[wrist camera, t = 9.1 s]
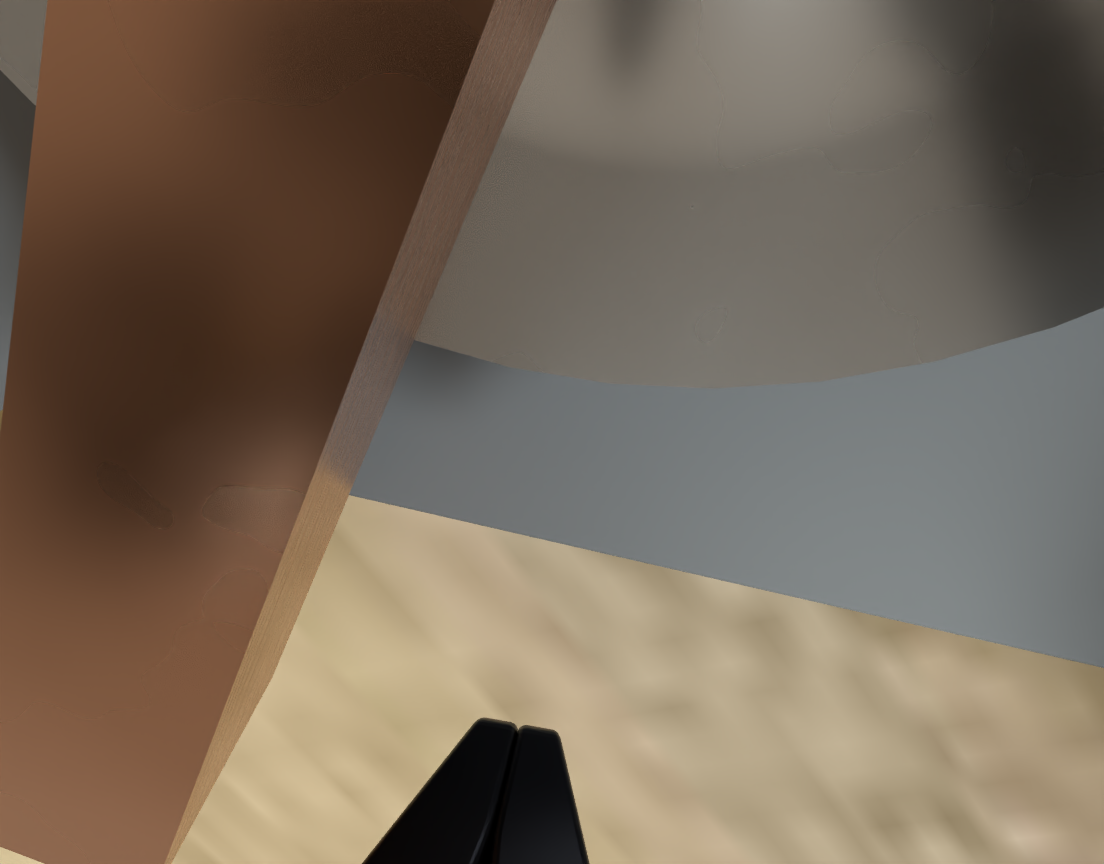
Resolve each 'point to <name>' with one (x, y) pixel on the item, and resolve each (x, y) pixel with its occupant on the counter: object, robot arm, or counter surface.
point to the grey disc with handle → (449, 290)
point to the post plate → (763, 468)
